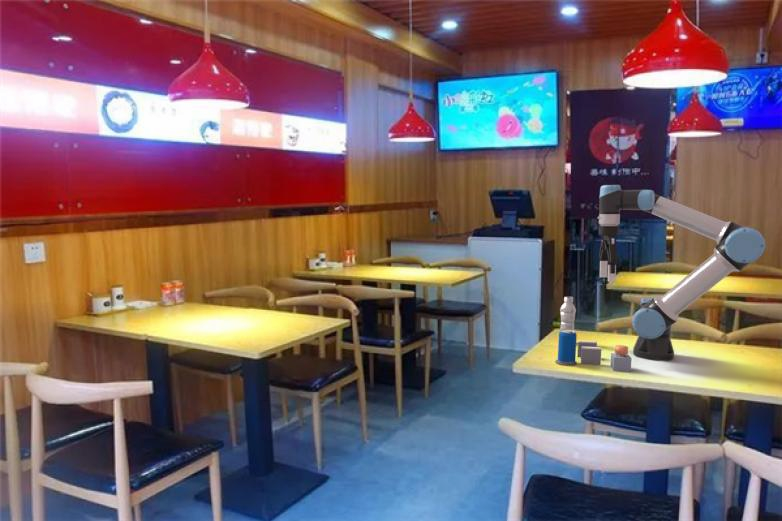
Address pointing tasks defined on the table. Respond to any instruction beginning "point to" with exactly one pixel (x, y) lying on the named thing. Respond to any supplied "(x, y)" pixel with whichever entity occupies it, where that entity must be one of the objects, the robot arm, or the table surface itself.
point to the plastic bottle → (567, 314)
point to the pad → (566, 364)
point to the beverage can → (567, 346)
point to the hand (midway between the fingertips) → (607, 279)
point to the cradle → (589, 352)
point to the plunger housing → (620, 362)
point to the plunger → (621, 350)
